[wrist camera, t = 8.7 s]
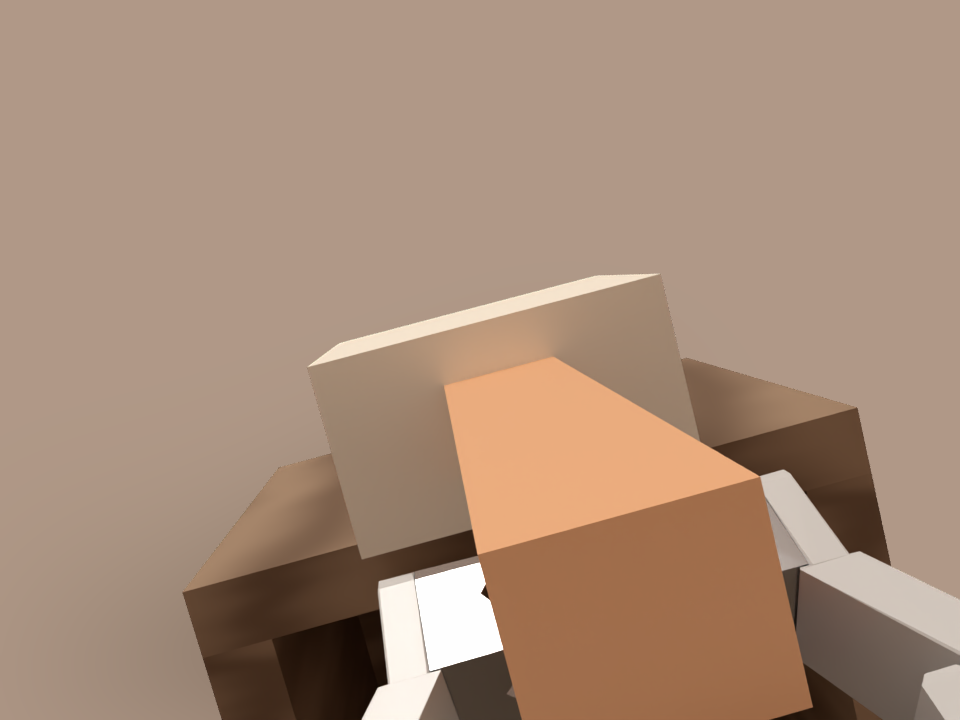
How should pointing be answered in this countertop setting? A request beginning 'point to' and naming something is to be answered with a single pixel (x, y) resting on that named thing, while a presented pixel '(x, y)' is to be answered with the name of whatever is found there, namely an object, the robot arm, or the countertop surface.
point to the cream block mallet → (572, 501)
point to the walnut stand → (354, 581)
